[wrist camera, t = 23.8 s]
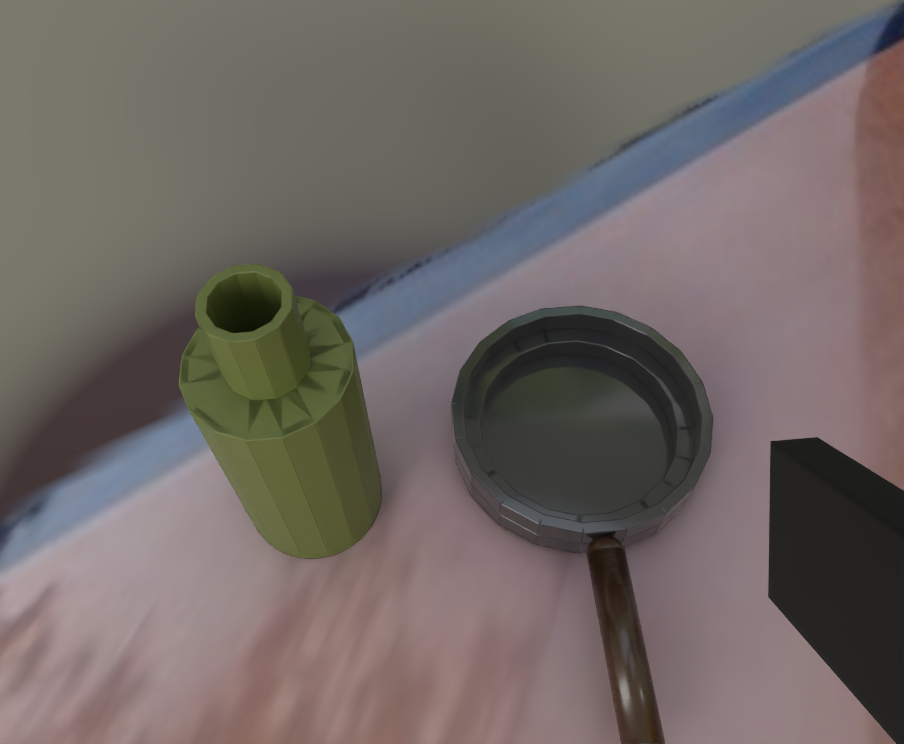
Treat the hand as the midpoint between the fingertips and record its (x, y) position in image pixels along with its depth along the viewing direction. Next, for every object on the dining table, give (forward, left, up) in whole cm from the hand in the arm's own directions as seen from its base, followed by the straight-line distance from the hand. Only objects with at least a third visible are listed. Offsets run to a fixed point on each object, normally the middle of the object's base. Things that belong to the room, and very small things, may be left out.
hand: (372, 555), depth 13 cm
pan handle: (-9, -4, -26) cm, 28 cm away
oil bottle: (+5, -14, -28) cm, 31 cm away
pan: (-9, -16, -28) cm, 33 cm away
